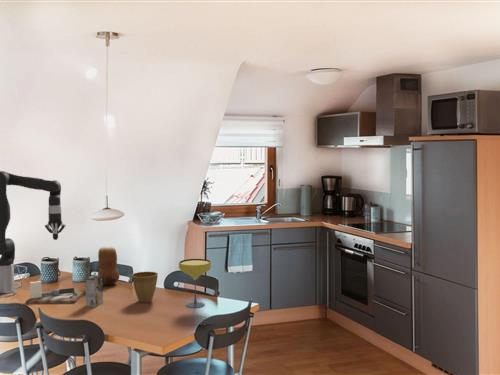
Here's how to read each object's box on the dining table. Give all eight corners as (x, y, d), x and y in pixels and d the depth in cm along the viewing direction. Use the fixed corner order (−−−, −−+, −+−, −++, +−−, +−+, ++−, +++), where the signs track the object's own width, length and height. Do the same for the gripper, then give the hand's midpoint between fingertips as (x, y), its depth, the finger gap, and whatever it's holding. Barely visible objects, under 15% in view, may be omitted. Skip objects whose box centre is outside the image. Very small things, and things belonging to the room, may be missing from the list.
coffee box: (93, 301, 318) (92, 274, 317) (103, 302, 317) (102, 275, 316) (85, 306, 309) (84, 278, 308) (95, 307, 308) (95, 279, 307)
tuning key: (73, 291, 331) (73, 277, 331) (74, 293, 328) (74, 278, 327) (30, 296, 321) (29, 281, 320) (30, 298, 317) (30, 283, 316)
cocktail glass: (175, 302, 316) (175, 260, 314) (205, 299, 323) (205, 257, 321) (184, 311, 299) (184, 266, 297) (215, 307, 306) (215, 263, 304)
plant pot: (163, 299, 324) (162, 272, 322) (148, 305, 310) (147, 278, 309) (142, 296, 330) (142, 270, 329) (127, 302, 316) (126, 275, 315)
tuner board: (25, 303, 315) (25, 299, 314) (38, 294, 335) (38, 290, 334) (74, 303, 316) (74, 298, 315) (84, 293, 336) (84, 289, 335)
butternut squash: (110, 281, 367) (109, 244, 365) (123, 283, 360) (122, 246, 358) (93, 285, 356) (92, 247, 354) (106, 288, 348) (106, 249, 346)
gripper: (42, 213, 338) (42, 240, 339) (63, 213, 339) (64, 240, 340) (46, 211, 346) (47, 238, 347) (67, 211, 346) (68, 238, 347)
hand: (55, 239), depth 343 cm, fingers closed
